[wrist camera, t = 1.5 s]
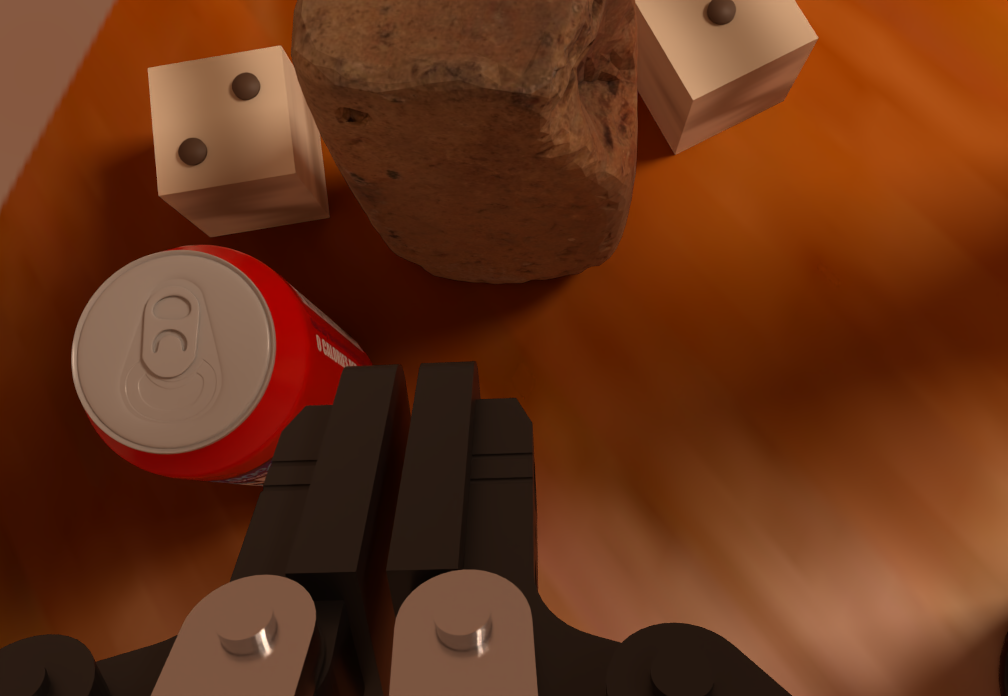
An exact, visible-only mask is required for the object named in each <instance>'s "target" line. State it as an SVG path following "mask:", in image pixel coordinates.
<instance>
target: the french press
mask: <svg viewBox="0 0 1008 696" xmlns="http://www.w3.org/2000/svg"><path fill="white" fill-rule="evenodd" d="M999 683H1000V691H1001V696H1008V633H1007V635H1006V637H1005V641H1004V645H1003V648H1002V652H1001V656H1000V669H999Z"/></svg>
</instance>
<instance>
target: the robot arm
mask: <svg viewBox="0 0 1008 696" xmlns="http://www.w3.org/2000/svg"><path fill="white" fill-rule="evenodd" d="M271 462H272V466H271V467H269V470H268V472H267V475H266V478H265V481H264V484H263V491H262V492H261V493H260V496H259V499H258V501H257V504H256V507H255V510H254V513H253V516H252V519H251V522H250V525H249V528H248V530H247V533H246V536H245V539H244V542H243V545H242V548H241V551H240V554H239V557H238V559H237V562H236V565H235V568H234V571H233V574H232V577H231V580H230V582H229V583H227V584H225V585H223V586H221V587H219V588H218V589H216V590H214V591H213V592H211V593H210V594H208V595H207V596H206V597H205V598H203V599H202V600H201V601H200V602H199V603H198V604H197V605H196V606H195V607H194V608H193V609H192V611H191V612H190V613H189V615H188V616H187V618H186V619H185V621H184V623H183V625H182V627H181V629H180V631H179V634H178V635H176V636H174V637H172V638H170V639H168V640H166V641H163V642H160V643H157V644H154V645H151V646H148V647H144V648H141V649H138V650H134V651H131V652H127V653H124V654H121V655H117V656H114V657H111V658H107V659H104V660H100V661H97V662H95V660H94V658H93V656H92V654H91V652H90V651H89V649H88V648H87V647H86V646H85V645H84V644H83V643H81V642H80V641H78V640H77V639H74V638H72V637H69V636H64V635H51V634H47V635H39V636H33V637H30V638H26V639H22V640H19V641H17V642H14V643H12V644H9V645H7V646H5V647H3V648H1V649H0V696H792V695H791V694H789V693H788V692H787V691H786V690H785V689H784V688H783V687H781V686H780V685H779V684H778V683H777V682H776V681H774V680H773V679H772V678H771V677H770V676H769V675H768V674H766V673H765V672H764V671H763V670H762V669H761V668H759V667H758V666H757V665H756V664H755V663H754V662H753V661H751V660H750V659H749V658H748V657H747V656H746V655H744V654H743V653H742V652H741V651H740V650H739V649H738V648H736V647H735V646H734V645H733V644H731V643H730V642H729V641H727V640H726V639H725V638H723V637H722V636H720V635H718V634H716V633H714V632H712V631H710V630H707V629H705V628H702V627H699V626H695V625H690V624H684V623H662V624H657V625H652V626H649V627H646V628H644V629H641V630H639V631H637V632H635V633H634V634H632V635H630V636H629V637H628V638H627V639H626V640H624V641H623V642H622V643H620V642H616V641H613V640H609V639H605V638H602V637H598V636H594V635H591V634H588V633H585V632H582V631H579V630H577V629H575V628H573V627H571V626H569V625H567V624H566V623H565V622H563V621H562V620H560V619H559V618H557V617H556V616H555V615H554V614H553V613H552V612H551V611H550V610H549V609H548V607H547V606H546V605H545V604H544V602H543V601H542V599H541V597H540V595H539V593H538V551H537V501H536V482H535V464H534V445H533V427H532V422H531V420H530V419H529V417H528V416H527V414H526V413H525V411H524V410H523V408H522V407H521V405H520V403H519V402H518V400H517V399H516V398H503V399H481V397H480V387H479V376H478V368H477V363H476V361H472V362H445V363H421V365H420V368H419V373H418V379H417V386H416V392H415V398H414V404H413V410H412V416H411V415H410V408H409V401H408V395H407V388H406V382H405V376H404V371H403V368H402V366H401V365H400V364H396V365H369V366H346V367H344V369H343V371H342V374H341V377H340V381H339V384H338V388H337V392H336V395H335V399H334V402H333V405H309V406H305V407H304V408H303V409H302V410H301V411H300V413H299V414H298V415H297V416H296V417H295V418H294V419H293V420H292V421H291V422H290V423H289V424H288V425H287V426H286V427H285V429H284V430H283V431H282V432H281V435H280V438H279V440H278V443H277V446H276V449H275V452H274V455H273V458H272V461H271Z"/></svg>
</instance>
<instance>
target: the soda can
mask: <svg viewBox="0 0 1008 696" xmlns="http://www.w3.org/2000/svg"><path fill="white" fill-rule="evenodd" d="M369 365H372V363H371V361H370V359H369V357H368V356H367V354H366V353H365V351H364V350H363V349H362V347H361V346H360V345H359V344H358V343H357V342H356V341H355V340H354V339H353V338H352V337H351V336H350V335H348V334H347V333H346V332H345V331H344V330H343V329H342V328H340V327H339V326H338V325H337V324H336V323H335V322H333V321H332V320H331V319H330V318H329V317H328V316H326V315H325V314H324V313H323V312H322V311H321V310H319V309H318V308H317V307H316V306H315V305H314V304H313V303H311V302H310V301H309V300H308V299H307V298H306V297H304V296H303V295H302V294H301V293H300V292H299V291H297V290H296V289H295V288H294V287H293V286H292V285H291V284H289V283H288V282H287V281H286V280H285V279H284V278H282V277H281V276H280V275H279V274H278V273H276V272H275V271H274V270H273V269H271V268H270V267H269V266H267V265H266V264H264V263H263V262H261V261H260V260H258V259H256V258H254V257H252V256H250V255H248V254H245V253H243V252H240V251H237V250H234V249H230V248H226V247H221V246H215V245H187V246H181V247H176V248H171V249H168V250H165V251H162V252H158V253H154V254H150V255H147V256H144V257H142V258H139V259H137V260H135V261H133V262H131V263H129V264H127V265H126V266H124V267H122V268H121V269H119V270H118V271H117V272H115V273H114V274H113V275H112V276H110V277H109V278H108V279H107V280H106V281H105V282H104V283H103V284H102V285H101V286H100V287H99V288H98V290H97V291H96V292H95V293H94V295H93V296H92V297H91V299H90V300H89V302H88V303H87V305H86V307H85V308H84V310H83V312H82V314H81V317H80V319H79V321H78V324H77V327H76V330H75V334H74V338H73V344H72V353H71V367H72V375H73V381H74V385H75V388H76V391H77V394H78V397H79V399H80V401H81V403H82V405H83V407H84V410H85V412H86V415H87V417H88V419H89V421H90V423H91V424H92V426H93V428H94V429H95V431H96V432H97V434H98V435H99V436H100V438H101V439H102V440H103V441H104V442H105V443H106V444H107V445H108V446H109V447H110V448H111V449H112V450H113V451H114V452H115V453H116V454H118V455H119V456H120V457H122V458H123V459H125V460H126V461H128V462H130V463H131V464H133V465H135V466H137V467H139V468H141V469H143V470H145V471H148V472H151V473H154V474H157V475H161V476H165V477H171V478H178V479H187V480H198V481H209V482H220V483H231V484H242V485H253V486H263V484H264V481H265V478H266V475H267V472H268V470H269V467H271V466H272V462H271V461H272V458H273V455H274V452H275V449H276V446H277V443H278V440H279V438H280V435H281V432H282V431H283V430H284V429H285V427H286V426H287V425H288V424H289V423H290V422H291V421H292V420H293V419H294V418H295V417H296V416H297V415H298V414H299V413H300V411H301V410H302V409H303V408H304V407H305V406H309V405H333V402H334V399H335V395H336V392H337V388H338V384H339V381H340V377H341V374H342V371H343V369H344V367H346V366H369Z"/></svg>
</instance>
